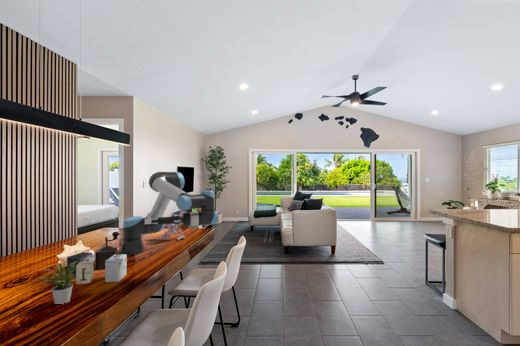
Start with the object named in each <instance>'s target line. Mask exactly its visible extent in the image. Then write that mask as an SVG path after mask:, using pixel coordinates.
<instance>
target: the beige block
mask: <svg viewBox="0 0 520 346" xmlns="http://www.w3.org/2000/svg"><path fill="white" fill-rule="evenodd" d="M76 266H77V267H76V278H75V284H76V285H83V284H91V283H92V281H93V280H94V261H93V260H92V261H86V262H79V263H78V264H77V265H76Z"/></svg>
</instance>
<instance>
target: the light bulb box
mask: <svg viewBox="0 0 520 346" xmlns="http://www.w3.org/2000/svg"><path fill="white" fill-rule="evenodd" d="M127 255H128V254H121V253H120V254H117V255H113V256H112V257H110V258H109V259H107V260H106V261H105V269H104V273H105V276H104V279H105V280H104V281H105V283H112V282H114V283H115V282H116V283H117V282H120V281H121V280H122V279H123V278H124V277H125V276H126V275H127V268H128V267H127V263H128V261H127V260H128V259H127V257H128V256H127Z"/></svg>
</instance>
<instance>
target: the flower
mask: <svg viewBox="0 0 520 346" xmlns="http://www.w3.org/2000/svg"><path fill="white" fill-rule="evenodd" d="M186 212H187V210H180V211H179V213H174V214H173V216H180V217H183V213H186ZM181 225H182V226H183V222H181V223H180V224H164V227H163V229H165V228H166V227H167V229H168V230H167V231H164V234H162V235H161V240H164V241H166V240H167V239H168V240H170V239H171V237H170V235H177V236H179V237H176V239H177V240H178V241H180V240H181V239H186V238H187V237H186V236H185V235H184V232H183V230H182V227H181ZM178 226H179V227H178ZM179 233H180V234H179Z"/></svg>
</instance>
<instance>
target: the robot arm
mask: <svg viewBox="0 0 520 346" xmlns="http://www.w3.org/2000/svg"><path fill="white" fill-rule="evenodd" d="M148 185H149V188H150V189H151V190H153V191H154V192H156V193H158V195H157V198H156V200H155V202H154V205H153V206H152V209H151V211H150V212H148V213H147V214H146V216H145V217H142V216H140V215H138V216H131V217H127V218H125V219H124V220H123V224H122V235H123V236H122V238H123V239H122V243H121V246H120V248H119V249H120V251H119V252H120V255H121V254H127V255H136V254H140V253H142V252H145V246H144V242H143V238H142V237H143V236H142V235H150V234H157V233H160V232H162V231H163V229H164V228H163V227H164V224H180V223H181V222H183V225H182V226H183V227H190V226H193V227H197V226H211V225H217V224H218V222H219V212H218V211H216V210H215V193H214V191H213V190H201V191H200V194H190V193H188V192H186V191H184V190H183V189H184V187H185V178H184V175H183V174H182V173H181V172H179V171H157V172H155V173H153V174H152V175H151V176H149V179H148ZM171 201H172V202H174V203H175V204H176V207H177V209H178V210H180V211H185V210H186V213H183V217H181V216H174V215H172V216H164V214H165V212H166V211H167V208H168V206H169V204H170V202H171ZM193 209H200V211H190V212H187V211H188V210H193ZM163 216H164V217H163Z"/></svg>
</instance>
